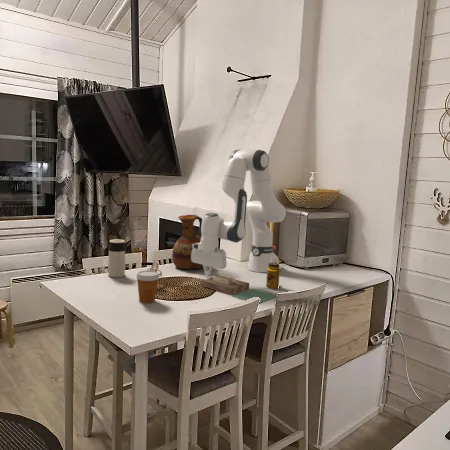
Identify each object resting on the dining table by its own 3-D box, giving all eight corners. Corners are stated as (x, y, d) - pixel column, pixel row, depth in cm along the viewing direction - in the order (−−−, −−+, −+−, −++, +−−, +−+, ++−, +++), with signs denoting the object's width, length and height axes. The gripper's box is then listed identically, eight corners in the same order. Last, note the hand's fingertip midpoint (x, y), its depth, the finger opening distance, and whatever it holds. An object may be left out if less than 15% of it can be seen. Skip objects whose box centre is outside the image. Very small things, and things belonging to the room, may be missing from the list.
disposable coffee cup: (138, 305, 170) (138, 276, 168) (133, 298, 179) (134, 270, 177) (161, 303, 174) (162, 275, 172) (155, 296, 182) (156, 269, 181)
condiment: (263, 288, 204) (265, 264, 203) (268, 284, 212) (269, 260, 211) (278, 290, 202) (279, 266, 200) (282, 286, 210) (284, 262, 208)
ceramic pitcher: (165, 265, 239) (166, 213, 235) (192, 261, 252) (195, 211, 248) (186, 273, 225) (188, 217, 220) (214, 268, 238) (217, 216, 234)
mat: (252, 289, 201) (252, 288, 201) (277, 296, 193) (278, 295, 193) (232, 296, 189) (232, 295, 189) (258, 303, 180) (258, 303, 180)
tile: (220, 278, 207) (220, 274, 206) (235, 282, 201) (235, 278, 201) (212, 280, 202) (212, 276, 202) (227, 284, 196) (227, 280, 196)
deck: (219, 281, 212) (220, 275, 212) (248, 289, 201) (249, 283, 201) (201, 286, 201) (201, 280, 201) (231, 295, 190) (231, 288, 190)
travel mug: (119, 278, 207) (119, 242, 205) (105, 276, 210) (105, 241, 207) (127, 275, 215) (128, 240, 212) (114, 273, 217) (114, 238, 215)
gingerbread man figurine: (159, 286, 198) (160, 261, 197) (164, 288, 196) (165, 262, 194) (143, 289, 192) (144, 263, 190) (149, 291, 189) (149, 265, 188)
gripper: (230, 249, 202) (228, 277, 203) (198, 242, 214) (196, 269, 216) (221, 250, 197) (220, 279, 198) (189, 244, 209) (188, 271, 211)
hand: (207, 274), depth 207 cm, fingers closed
